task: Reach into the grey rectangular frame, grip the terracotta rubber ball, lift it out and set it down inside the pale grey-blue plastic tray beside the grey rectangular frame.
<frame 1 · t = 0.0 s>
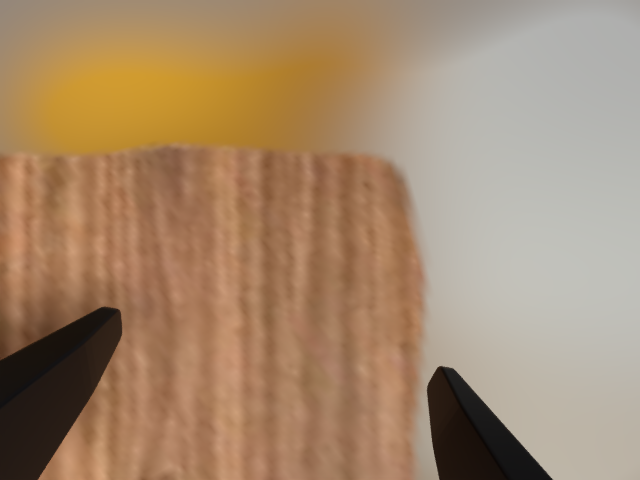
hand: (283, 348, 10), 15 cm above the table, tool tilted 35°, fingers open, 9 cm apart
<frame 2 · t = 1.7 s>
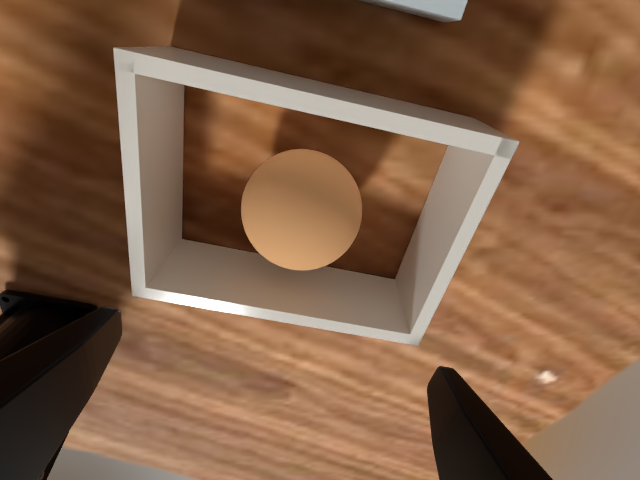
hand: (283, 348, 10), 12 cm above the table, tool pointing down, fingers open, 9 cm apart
ball: (302, 210, 17), point 3 cm above the table
grey rectangular frame: (305, 188, 20), on the table
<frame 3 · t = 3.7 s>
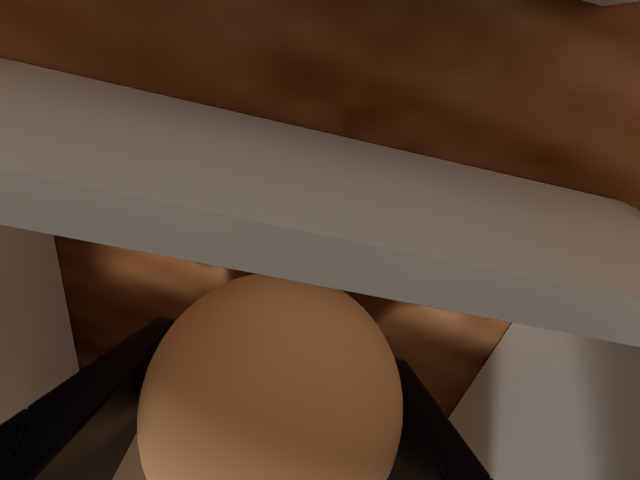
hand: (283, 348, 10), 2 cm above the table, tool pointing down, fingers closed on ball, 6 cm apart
ball: (276, 395, 8), point 3 cm above the table, touching gripper
grey rectangular frame: (289, 312, 11), on the table
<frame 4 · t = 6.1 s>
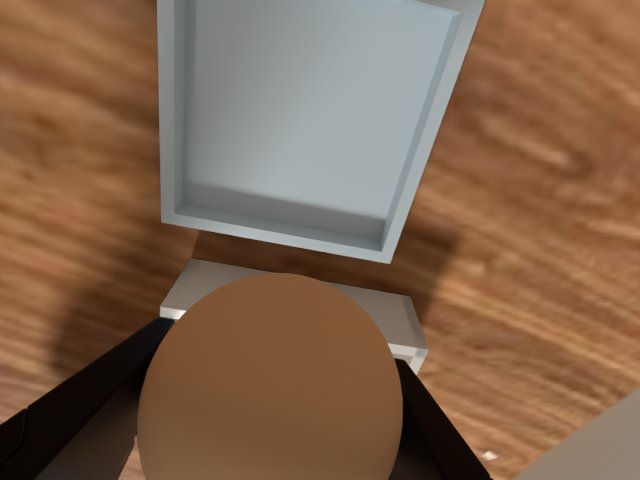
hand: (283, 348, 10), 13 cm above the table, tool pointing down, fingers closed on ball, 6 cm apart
ball: (276, 396, 8), point 14 cm above the table, touching gripper
grey rectangular frame: (290, 337, 27), on the table
tray: (301, 119, 19), on the table
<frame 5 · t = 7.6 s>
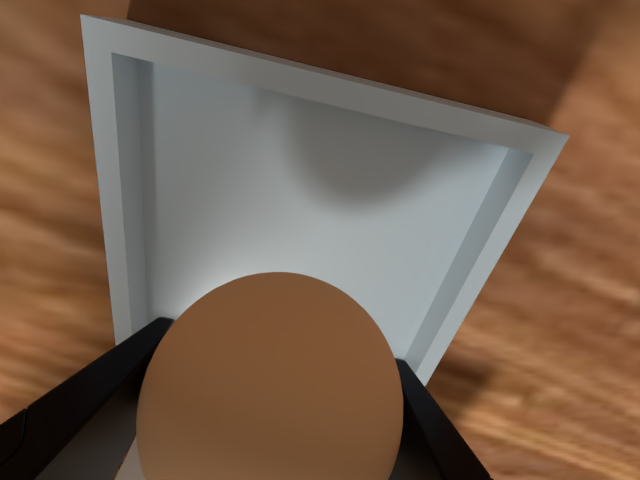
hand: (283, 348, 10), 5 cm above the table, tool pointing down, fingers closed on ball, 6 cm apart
ball: (276, 396, 8), point 7 cm above the table, touching gripper
grey rectangular frame: (283, 457, 22), on the table
tray: (299, 246, 14), on the table
when the fingers open (4 cm above the table, at t = 8.8 s): ball drops 2 cm, resting on tray.
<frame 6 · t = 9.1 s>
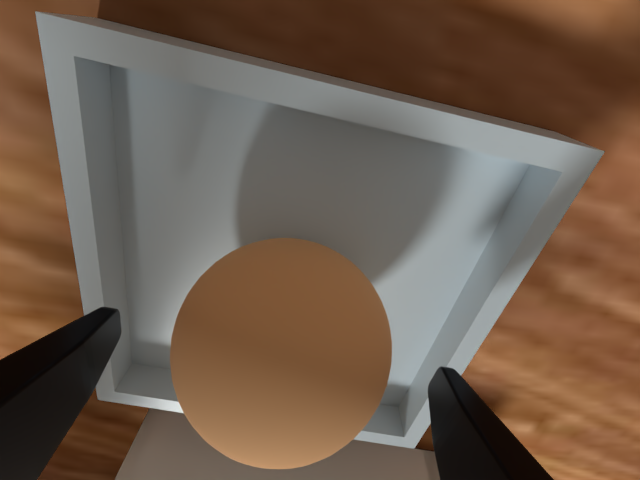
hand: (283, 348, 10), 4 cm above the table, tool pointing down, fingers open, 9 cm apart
ball: (284, 343, 10), point 4 cm above the table, touching tray
tray: (295, 267, 13), on the table
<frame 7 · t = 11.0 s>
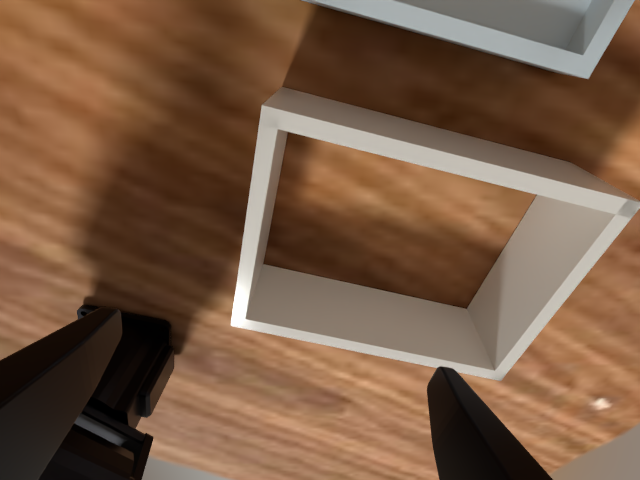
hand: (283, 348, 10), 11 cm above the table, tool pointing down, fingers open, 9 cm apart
grey rectangular frame: (393, 222, 20), on the table
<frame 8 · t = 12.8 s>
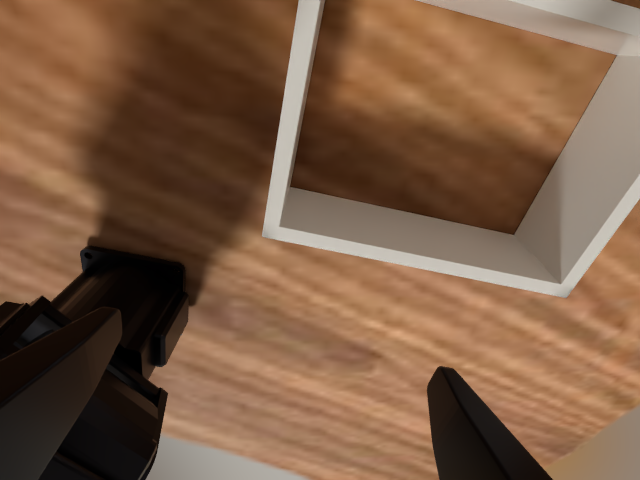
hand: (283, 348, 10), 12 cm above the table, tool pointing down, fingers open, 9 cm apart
grey rectangular frame: (437, 127, 18), on the table
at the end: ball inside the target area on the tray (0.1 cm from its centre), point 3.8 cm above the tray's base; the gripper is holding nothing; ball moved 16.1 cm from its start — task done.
